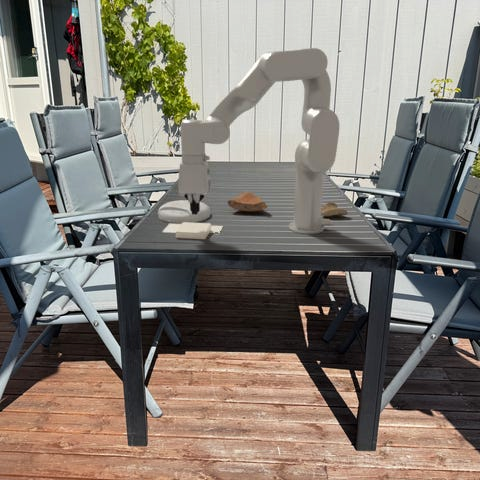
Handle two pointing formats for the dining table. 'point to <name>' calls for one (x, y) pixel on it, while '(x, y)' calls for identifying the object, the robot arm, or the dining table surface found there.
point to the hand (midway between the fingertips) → (195, 213)
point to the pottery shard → (332, 210)
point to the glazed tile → (193, 230)
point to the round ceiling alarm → (182, 212)
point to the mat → (173, 227)
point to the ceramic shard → (247, 202)
